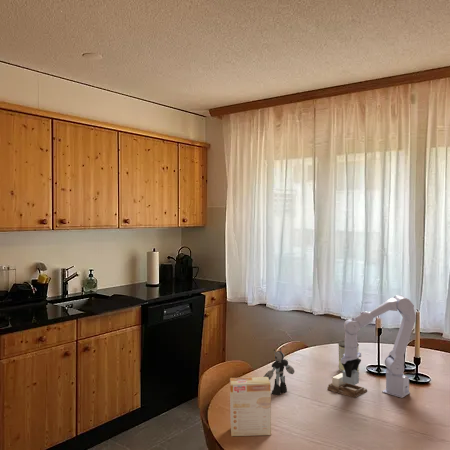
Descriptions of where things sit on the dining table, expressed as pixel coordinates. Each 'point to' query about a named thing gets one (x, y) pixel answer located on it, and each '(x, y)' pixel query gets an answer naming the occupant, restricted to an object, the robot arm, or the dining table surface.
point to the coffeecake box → (250, 406)
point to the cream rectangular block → (338, 380)
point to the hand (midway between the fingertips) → (351, 375)
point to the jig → (348, 389)
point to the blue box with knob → (351, 378)
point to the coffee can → (341, 352)
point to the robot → (279, 373)
